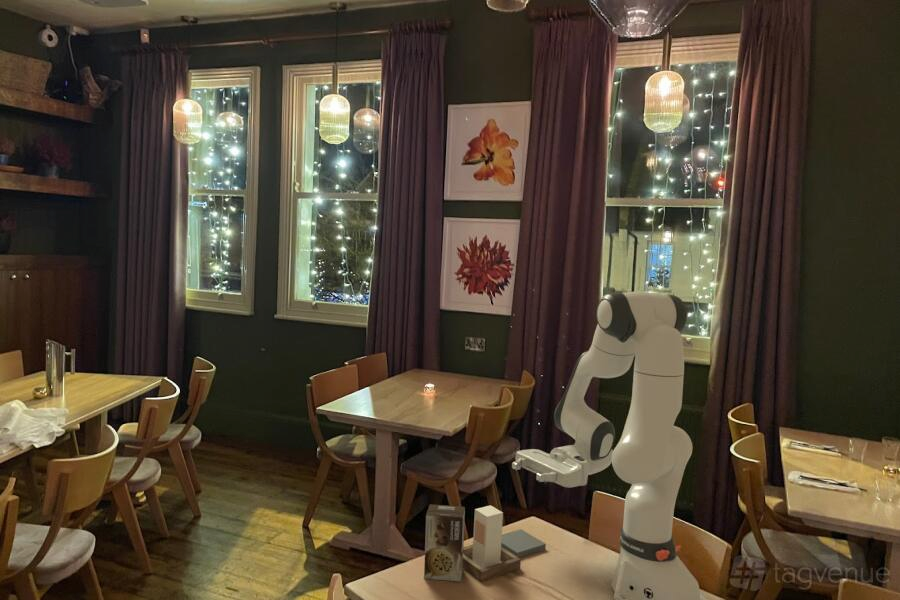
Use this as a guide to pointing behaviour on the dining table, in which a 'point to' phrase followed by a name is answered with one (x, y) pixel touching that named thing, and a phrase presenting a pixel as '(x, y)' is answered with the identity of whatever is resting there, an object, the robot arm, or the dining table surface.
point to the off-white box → (487, 536)
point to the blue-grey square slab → (521, 543)
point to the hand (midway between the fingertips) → (525, 471)
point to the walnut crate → (492, 571)
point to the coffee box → (444, 542)
